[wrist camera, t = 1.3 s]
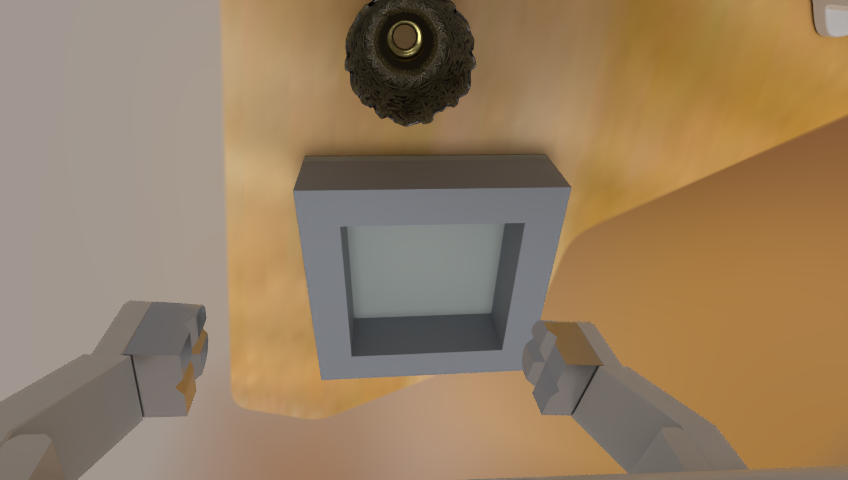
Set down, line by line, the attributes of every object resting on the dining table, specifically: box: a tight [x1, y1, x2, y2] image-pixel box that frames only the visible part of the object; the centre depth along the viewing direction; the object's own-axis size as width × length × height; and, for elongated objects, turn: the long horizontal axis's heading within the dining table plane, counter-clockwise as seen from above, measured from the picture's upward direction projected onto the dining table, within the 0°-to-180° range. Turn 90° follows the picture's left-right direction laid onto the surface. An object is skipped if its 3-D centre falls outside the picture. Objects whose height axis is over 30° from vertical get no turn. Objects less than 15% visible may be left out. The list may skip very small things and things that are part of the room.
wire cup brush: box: [345, 0, 476, 126], centre depth 29 cm, size 8×7×8 cm
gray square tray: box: [293, 155, 571, 380], centre depth 40 cm, size 20×20×6 cm
